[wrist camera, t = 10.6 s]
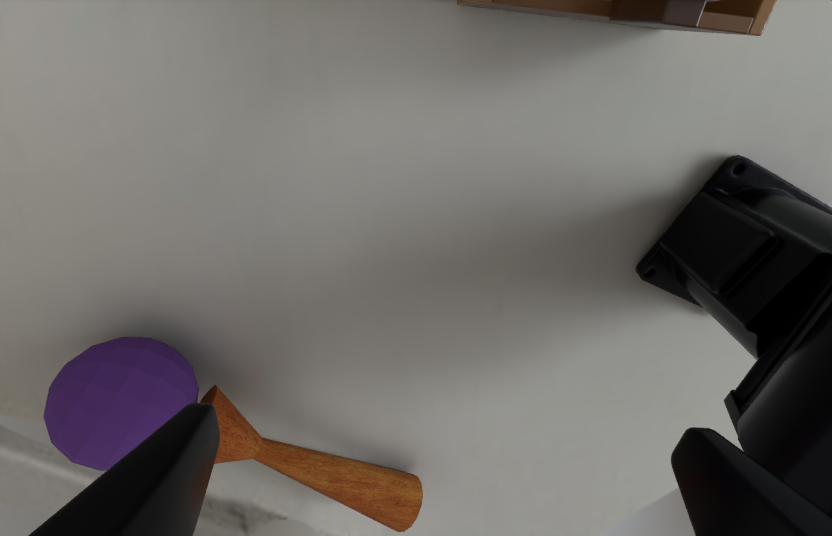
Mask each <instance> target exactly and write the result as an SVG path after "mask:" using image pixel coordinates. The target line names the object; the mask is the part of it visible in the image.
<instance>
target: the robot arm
mask: <svg viewBox="0 0 832 536" xmlns="http://www.w3.org/2000/svg"><path fill="white" fill-rule="evenodd" d="M738 164H739V167H738V169H737V170H736V171H735V172H733V169H734V167H735V166H737V165H738ZM649 268H651V270H650V271H649V272H646V270H647V269H649ZM645 272H646V273H645ZM636 273H637V274H638V276H639V277H640V278H641V279H642V280H644V281H646V282H648V283H650V284H653V285H655V286H657V287H659V288H661V289H663V290H666V291H668V292H670V293H672V294H674V295H676V296H679V297H681V298H683V299H685V300H687V301H689V302H692V303H694V304H696V305H698V306H700V307H703V308H704V309H705V310H707V311H708V312H709V313H710V314H711V315H712V316H713V317H714V318H715V319H716V320H717V321H718V322H719V323H720V324H721V325H722V326H723V327H724V328H725V329H726V330H727V331H728V332H729V333H730V334H731V335H732V336H733V337H734V338H735V339H736V340H737V341H738V342H739V343H740V344H741V345H742V346H743V347H744V348H745V349H746V350H747V351H748V352H749V353H750V354H751V355H752V356H753V357H754V358H755V359H756V360H757V361H756V363H755V364H754V365H753V367H752V368H751V369H750V371H749V372H748V373H747V375H746V376H745V377H744V379H743V380H742V381H741V383H740V384H739V386H738V387H737V388H736V390H731V391H730V393H729V394H728V395H727V397H726V398H725V400H724V403H725V405H726V408H727V410H728V413H729V415H730V418H731V420H732V423H733V425H734V428H735V430H736V432H737V435H738V440H739V442H740V444H741V447H742V449H743V451H744V452H743V451H742V450H740V449H739V448H738V447H736V446H735V445H734V444H732V443H731V442H730V441H728V440H727V439H725V438H724V437H723V436H721V435H720V434H719V433H717V432H716V431H714V430H712V429H709V428H695V427H692V428H689V429H687V430H686V431H685V433H684V434H683V436H682V437H681V439H680V441H679V442H678V444H677V446H676V447H675V449H674V451H673V453H672V456H671V464H672V468H673V471H674V474H675V477H676V480H677V483H678V486H679V489H680V491H681V494H682V497H683V500H684V503H685V506H686V509H687V512H688V515H689V518H690V521H691V523H692V526H693V529H694V532H695V535H696V536H832V208H831V207H829V206H827V205H826V204H824V203H822V202H821V201H819V200H817V199H816V198H814V197H812V196H810V195H809V194H807V193H805V192H804V191H802V190H800V189H799V188H797V187H795V186H794V185H792V184H790V183H788V182H787V181H785V180H783V179H782V178H780V177H778V176H777V175H775V174H773V173H771V172H770V171H768V170H766V169H765V168H763V167H761V166H760V165H758V164H756V163H754V162H753V161H751V160H749V159H747V158H745V157H743V156H740V155H735V156H732V157H730V158H728V159H727V160H726V161H725V162H724V163H723V164H722V165H721V166H720V168H719V169H718V170H717V171H716V172H715V173H714V175H713V176H712V177H711V178H710V179H709V181H708V182H707V183H706V184H705V185H704V187H703V188H702V189H701V190H700V191H699V193H698V194H697V195H696V196H695V197H694V199H693V200H692V201H691V202H690V203H689V204H688V206H687V207H686V208H685V209H684V210H683V212H682V213H681V214H680V215H679V216H678V218H677V219H676V220H675V221H674V222H673V224H672V225H671V226H670V227H669V228H668V229H667V231H666V232H665V233H664V234H663V235H662V237H661V238H660V239H659V240H658V241H657V243H656V244H655V245H654V246H653V247H652V249H651V250H650V251H649V252H648V253H647V255H646V256H645V257H644V258H643V259H642V260H641V262H640V263H639V264H638V266H637V267H636ZM219 444H220V429H219V424H218V418H217V413H216V408H215V406H214V405H213V404H210V403H190V404H188V405H186V406H185V407H184V408H182V409H181V410H180V411H179V412H178V413H176V414H175V415H174V416H173V417H171V418H170V419H169V420H168V421H167V422H165V423H164V424H163V425H162V426H161V427H159V428H158V429H157V430H156V431H155V432H153V433H152V434H151V435H150V436H148V437H147V438H146V439H145V440H144V441H142V442H141V443H140V444H139V445H138V446H136V447H135V448H134V449H133V450H132V451H130V452H129V453H128V454H127V455H125V456H124V457H123V458H122V459H121V460H119V461H118V462H117V463H116V464H115V465H113V466H112V467H111V468H110V469H108V470H107V471H106V472H105V473H104V474H102V475H101V476H100V477H99V478H98V479H96V480H95V481H94V482H93V483H92V484H90V485H89V486H88V487H87V488H85V489H84V490H83V491H82V492H81V493H79V494H78V495H77V496H76V497H75V498H73V499H72V500H71V501H70V502H69V503H67V504H66V505H65V506H64V507H62V508H61V509H60V510H59V511H58V512H56V513H55V514H54V515H53V516H52V517H50V518H49V519H48V520H47V521H46V522H44V523H43V524H42V525H41V526H39V527H38V528H37V529H36V530H35V531H34V532H32V533H31V534H30V535H29V536H193V533H194V530H195V527H196V523H197V520H198V517H199V513H200V510H201V507H202V503H203V500H204V496H205V493H206V489H207V486H208V483H209V479H210V476H211V472H212V469H213V465H214V462H215V458H216V455H217V452H218V448H219Z"/></svg>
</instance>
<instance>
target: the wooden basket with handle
mask: <svg viewBox="0 0 832 536" xmlns="http://www.w3.org/2000/svg"><path fill="white" fill-rule="evenodd" d="M776 1H777V0H457V4H458V5H465V6H473V7H481V8H490V9H498V10H506V11H515V12H523V13H531V14H540V15H548V16H556V17H565V18H573V19H581V20H590V21H598V22H606V23H614V24H623V25H631V26H639V27H648V28H656V29H664V30H679V31H694V32H709V33H724V34H740V35H755V36H760V35H761V34H762V33H763V30H764V28H765V26H766V24H767V21H768V19H769V17H770V14H771V12H772V10H773V8H774V5H775V3H776Z"/></svg>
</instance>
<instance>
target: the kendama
mask: <svg viewBox="0 0 832 536" xmlns="http://www.w3.org/2000/svg"><path fill="white" fill-rule="evenodd" d="M198 392H199V388H198V385H197V381H196V378H195V375H194V372H193V369H192V367H191V365H190V364H189V363H188V362H187V361H186V360H185V359H184V358H183V357H182V356H181V355H180V354H179V353H178V352H177V351H176V350H175V349H174V348H172V347H170V346H168V345H165V344H163V343H161V342H158V341H156V340H154V339H151V338H133V337H121V338H118V339H114V340H111V341H107V342H104V343H100V344H97V345H93V346H91V347H90V348H88V349H87V350H86V351H84V352H83V353H81V354H80V355H78V356H77V357H75V358H74V359H72V360H71V361H70V362H68V363H67V364H66V365H65V366H64V367H63V368H62V370H61V371H60V372H59V374H58V375H57V376H56V378H55V379H54V381H53V382H52V384H51V386H50V388H49V393H48V397H47V402H46V407H45V412H44V420H45V423H46V426H47V430H48V433H49V436H50V440H51V443H52V444H53V445H54V446H55V447H56V448H57V449H58V450H60V451H61V452H62V453H63V454H64V455H65V456H66V457H67V458H68V459H69V460H70V461H71V462H73V463H76V464H80V465H83V466H87V467H90V468H93V469H97V470H100V471H104V470H108V469H110V468H111V467H112V466H113V465H115V464H116V463H117V462H118V461H119V460H121V459H122V458H123V457H124V456H125V455H127V454H128V453H129V452H130V451H132V450H133V449H134V448H135V447H136V446H138V445H139V444H140V443H141V442H142V441H144V440H145V439H146V438H147V437H148V436H150V435H151V434H152V433H153V432H155V431H156V430H157V429H158V428H159V427H161V426H162V425H163V424H164V423H165V422H167V421H168V420H169V419H170V418H171V417H173V416H174V415H175V414H176V413H178V412H179V411H180V410H181V409H182V408H184V407H185V406H186V405H188V404H190V403H197V398H198ZM200 403H210V404H213V405H214V406H215V408H216V413H217V418H218V424H219V429H220V444H219V448H218V452H217V455H216V458H215V462H214V464H215V463H223V462H230V461H238V460H246V459H254V460H256V461H258V462H260V463H262V464H264V465H266V466H268V467H270V468H272V469H274V470H276V471H278V472H280V473H282V474H284V475H286V476H288V477H290V478H292V479H294V480H296V481H298V482H300V483H302V484H304V485H306V486H308V487H310V488H312V489H314V490H316V491H318V492H320V493H322V494H324V495H326V496H328V497H330V498H332V499H334V500H336V501H338V502H340V503H342V504H344V505H346V506H348V507H350V508H352V509H354V510H355V511H357V512H359V513H361V514H363V515H365V516H367V517H369V518H371V519H373V520H375V521H377V522H379V523H381V524H383V525H385V526H387V527H389V528H391V529H393V530H395V531H397V532H404V531H406V530H407V529H408V528H410V527H411V526H412V524H413V523H414V521H415V520H416V518H417V516H418V514H419V511H420V508H421V504H422V497H423V491H422V484H421V482H420V480H419V478H418V477H417V476H415V475H413V474H410V473H406V472H402V471H398V470H393V469H389V468H385V467H381V466H377V465H373V464H369V463H364V462H360V461H356V460H352V459H348V458H344V457H340V456H335V455H331V454H327V453H323V452H319V451H315V450H311V449H306V448H302V447H298V446H294V445H290V444H286V443H282V442H277V441H273V440H269V439H265V438H262V437H261V436H260V435H259V434H258V433H257V432H256V430H255V429H254V428H253V427H252V426H251V425H250V424H249V422H248V421H247V420H246V419H245V418H244V417H243V416H242V414H241V413H240V412H239V411H238V410H237V409H236V408H235V406H234V405H233V404H232V403H231V402H230V401H229V400H228V398H227V397H226V396H225V395H224V394H223V393H222V392H221V390H220V389H219V388H218V387H217V386H216V385H214V386H213V387H212V388H210V390H209V391H208V392H207V393H206V395H205V396H204V397H203V399H202V400H201V402H200Z"/></svg>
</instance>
